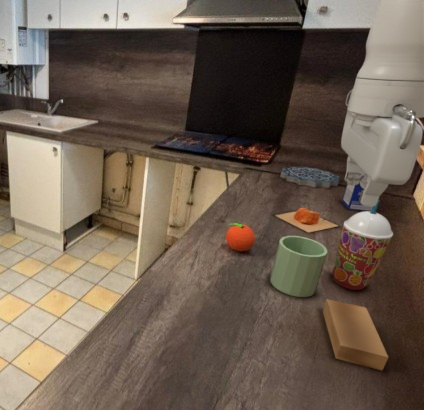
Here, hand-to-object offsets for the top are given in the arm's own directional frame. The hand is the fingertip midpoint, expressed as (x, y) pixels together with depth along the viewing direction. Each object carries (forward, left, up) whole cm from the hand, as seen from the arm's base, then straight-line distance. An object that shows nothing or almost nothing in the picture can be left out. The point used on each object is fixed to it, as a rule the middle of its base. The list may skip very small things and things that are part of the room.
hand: (358, 193), depth 55 cm
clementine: (+14, -27, -28) cm, 41 cm away
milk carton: (-22, -72, -28) cm, 80 cm away
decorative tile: (-11, -97, -28) cm, 101 cm away
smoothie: (-10, -21, -28) cm, 36 cm away
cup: (+2, -15, -28) cm, 31 cm away
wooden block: (-6, -1, -28) cm, 28 cm away
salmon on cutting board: (-5, -53, -28) cm, 60 cm away
